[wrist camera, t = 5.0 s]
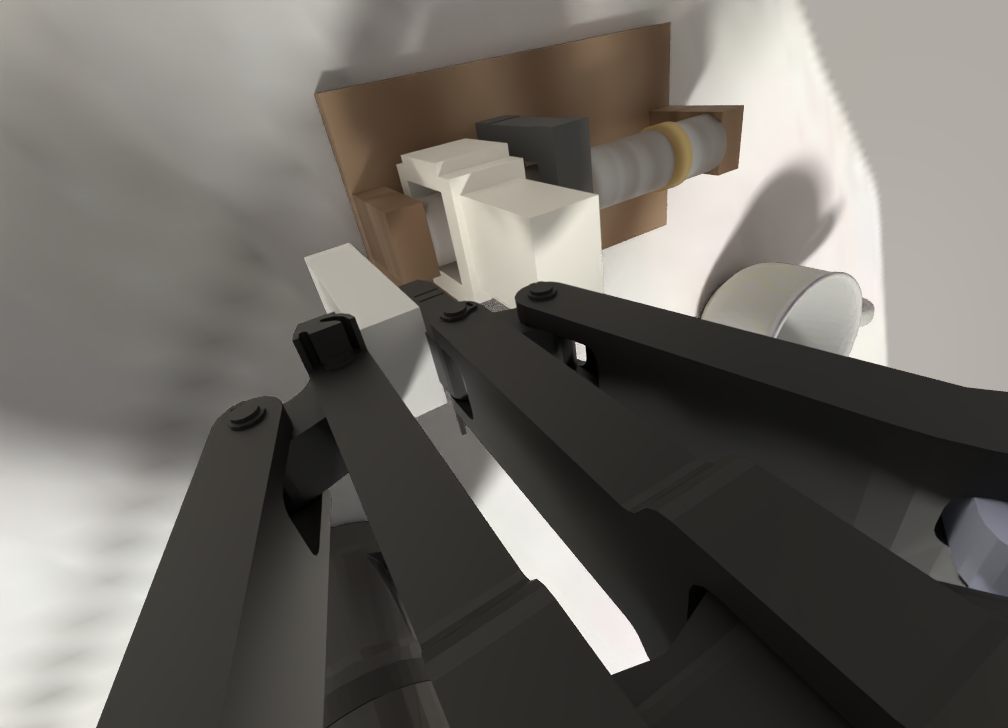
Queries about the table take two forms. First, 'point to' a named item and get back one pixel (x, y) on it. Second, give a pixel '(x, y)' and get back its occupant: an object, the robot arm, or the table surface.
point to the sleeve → (505, 222)
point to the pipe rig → (528, 93)
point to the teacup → (793, 305)
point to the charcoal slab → (546, 146)
